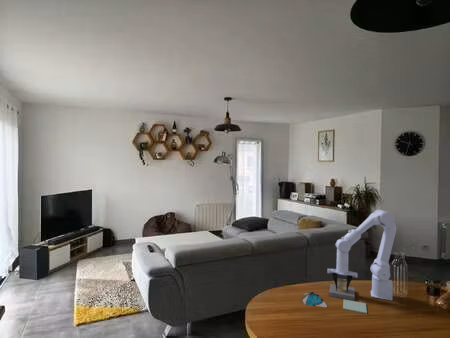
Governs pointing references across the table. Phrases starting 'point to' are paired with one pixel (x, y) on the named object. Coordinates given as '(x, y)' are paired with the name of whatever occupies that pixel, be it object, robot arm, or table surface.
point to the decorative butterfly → (313, 300)
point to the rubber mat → (354, 306)
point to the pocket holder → (341, 293)
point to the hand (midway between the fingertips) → (341, 288)
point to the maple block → (341, 285)
